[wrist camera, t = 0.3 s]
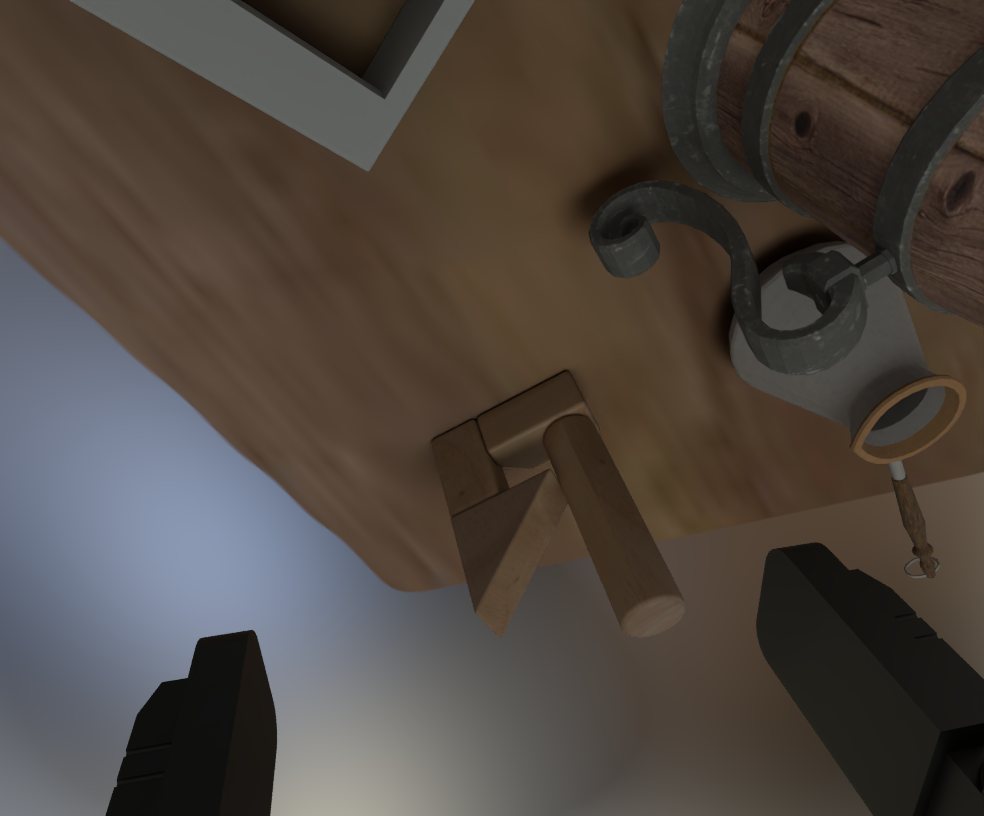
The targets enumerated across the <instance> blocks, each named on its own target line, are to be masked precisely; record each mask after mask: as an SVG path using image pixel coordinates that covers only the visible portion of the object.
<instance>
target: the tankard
mask: <svg viewBox="0 0 984 816" xmlns="http://www.w3.org/2000/svg"><path fill="white" fill-rule="evenodd" d="M661 94H662V107H663V119H664V124H665V127H666V130H667V134H668V137H669V140H670V144H671V147H672V149H673V150H674V152H675V154H676V156H677V157H678V159H679V161H680V163H681V164H682V166H683V168H684V169H685V170H686V171H687V172H688V173H689V174H690V175H691V176H692V177H693V178H694V179H695V180H696V181H697V182H698V183H699V184H700V185H702V186H704V187H705V188H707V189H709V190H711V191H712V192H714V193H716V194H718V195H720V196H723V197H727V198H731V199H735V200H738V201H748V202H768V201H774V200H779V201H780V202H781V203H783V204H784V205H785V206H787V207H789V208H790V209H792V210H794V211H795V212H797V213H799V214H800V215H803V216H807V217H811V218H814V219H816V220H817V221H818V222H820V223H821V224H823V225H824V226H825V227H827V228H828V229H830V230H831V231H832V232H834V233H835V234H836V235H838V236H839V237H841V238H842V239H843V240H845V241H846V242H847V243H849V244H850V245H852V246H853V247H854V248H856V249H857V250H858V251H860V252H861V253H863V254H864V255H865V256H867V257H866V258H864V259H863V260H861V261H860V262H858V263H856V264H855V265H854V264H853V263H852V262H851V261H849V260H848V259H847V258H846V257H845V256H844V255H842V254H841V253H840V252H838V251H835V250H830V251H829V252H827V253H822V252H810V253H805V254H799V255H796V256H794V257H792V258H790V259H788V260H786V261H784V262H783V265H782V273H783V277H784V279H785V282H786V285H787V288H788V289H789V290H792V291H795V292H798V293H800V294H802V295H805V296H807V297H809V298H811V299H812V300H814V302H815V305H816V308H817V310H818V311H819V312H820V313H821V314H822V316H821V317H820V318H819V319H817V320H816V321H814V322H813V323H812V324H810V325H807V326H804V327H801V328H798V329H795V330H777V329H773V328H770V327H769V326H768V325H767V324H765V323H764V322H763V321H762V304H761V281H760V277H759V273H758V269H757V266H756V263H755V260H754V258H753V255H752V253H751V250H750V247H749V245H748V242H747V239H746V237H745V235H744V233H743V231H742V230H741V228H740V226H739V224H738V223H737V221H736V220H735V219H734V217H733V216H732V215H731V214H730V213H729V212H728V211H727V210H726V209H725V208H724V207H723V206H722V205H721V204H719V203H718V202H716V201H715V200H714V199H712V198H711V197H709V196H708V195H706V194H705V193H703V192H700V191H698V190H695V189H693V188H690V187H688V186H685V185H683V184H680V183H674V182H668V181H661V180H654V181H647V182H639V183H637V184H634V185H632V186H629V187H626V188H624V189H622V190H620V191H619V192H617V193H615V194H614V195H612V196H610V197H609V198H608V199H607V200H606V201H605V202H604V203H603V204H602V205H601V206H600V207H599V208H598V210H597V212H596V213H595V215H594V217H593V218H592V222H591V226H590V230H589V237H590V241H591V244H592V246H593V248H594V250H595V251H596V253H597V255H598V256H599V258H600V260H601V262H602V263H603V265H604V267H605V268H606V270H607V271H608V272H610V273H611V274H612V275H613V276H615V277H622V278H630V277H634V276H637V275H640V274H642V273H644V272H645V271H647V270H648V269H650V268H651V267H652V266H653V265H654V263H655V262H656V261H657V259H658V258H659V252H660V244H659V242H658V240H657V238H656V236H655V234H654V232H653V230H652V228H651V226H650V224H652V223H655V222H668V221H671V222H676V223H680V224H685V225H689V226H691V227H694V228H696V229H698V230H700V231H702V232H704V233H706V234H707V235H709V236H710V237H711V238H712V239H714V240H715V241H716V242H718V243H719V244H720V245H721V246H722V247H723V248H724V249H725V251H726V252H727V253H728V254H729V255H730V258H731V300H732V304H733V308H734V312H735V316H736V319H737V321H738V323H739V326H740V328H741V330H742V332H743V335H744V337H745V339H746V342H747V344H748V346H749V347H750V349H751V351H752V352H753V354H754V355H755V357H756V359H757V360H758V361H759V362H760V363H762V364H763V365H765V366H766V367H767V368H769V369H770V370H772V371H774V372H778V373H782V374H786V375H791V376H796V375H811V374H814V373H818V372H821V371H824V370H827V369H830V368H831V367H833V366H834V365H836V364H837V363H839V362H840V361H842V360H843V359H845V358H846V357H847V356H848V354H849V353H850V352H851V351H852V350H853V349H854V347H855V346H856V345H857V344H858V342H859V340H860V338H861V336H862V333H863V331H864V329H865V326H866V321H867V315H868V314H867V309H868V307H869V306H868V302H867V298H866V294H865V290H867V287H868V286H870V285H872V284H873V283H875V282H877V281H878V280H880V279H882V278H883V277H885V276H888V277H889V279H890V280H891V281H892V282H893V283H894V284H895V285H896V286H898V287H899V288H901V289H902V290H903V291H905V292H906V293H907V294H909V295H910V296H912V297H913V298H914V299H916V300H917V301H918V302H920V303H922V304H923V305H925V306H927V307H929V308H930V309H932V310H934V311H938V312H943V313H947V314H951V315H959V316H961V317H963V318H965V319H967V320H969V321H971V322H973V323H975V324H977V325H979V326H981V327H983V328H984V0H683V2H682V5H681V7H680V9H679V11H678V14H677V16H676V18H675V20H674V24H673V28H672V31H671V35H670V39H669V42H668V46H667V50H666V53H665V58H664V68H663V77H662V87H661Z"/></svg>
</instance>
